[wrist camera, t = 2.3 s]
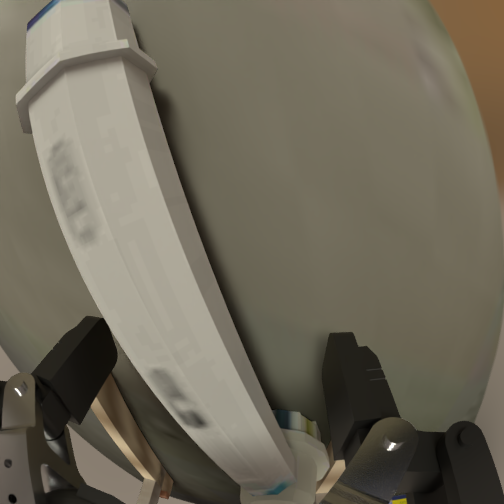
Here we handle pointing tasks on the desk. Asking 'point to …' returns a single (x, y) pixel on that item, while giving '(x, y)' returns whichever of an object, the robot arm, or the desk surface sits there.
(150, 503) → the tan holder stand
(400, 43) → the desk surface
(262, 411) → the white electric toothbrush
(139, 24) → the desk surface
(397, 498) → the supplement box
